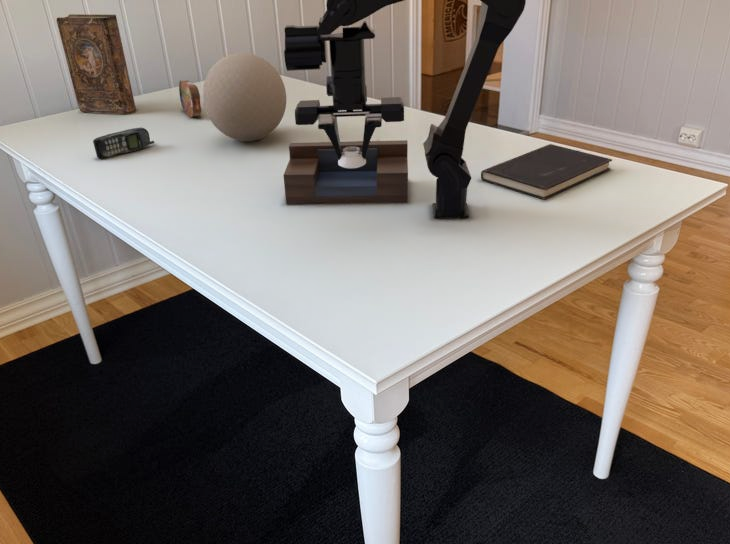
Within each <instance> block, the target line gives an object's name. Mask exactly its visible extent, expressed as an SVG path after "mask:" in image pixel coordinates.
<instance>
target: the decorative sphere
mask: <svg viewBox="0 0 730 544" xmlns="http://www.w3.org/2000/svg"><path fill="white" fill-rule="evenodd" d="M286 90H287V89H286V86H285V83H284V81H283V78H282V76H281V75H280V73H279V72H278V70H277V69H276V67H274V65H272V64H271V63H270V62H269V61H268V60H266V59H265V58H263V57H261V56H259V55H256V54H254V53H249V52H235V53H231V54H228V55H226V56H224V57H222V58H220V59H219V60H218V61H217V62H215V63H214V65H213V66H212V67H211V68H210V69H209V71H208V72H207V74H206V77H205V79H204V83H203V88H202V100H203V101H202V102H203V106H204V109H205V113H206V115H207V117H208V119H209V120H210V122H211V124H212V125H213V126H214V127H215V128H216V129H217V130H218V131H219V132H221V133H222V134H223V135H225V136H226V137H228V138H231V139H233V140H236V141H241V142H253V141H258V140H261V139H263V138H265V137H267V136H269V135H270V134H272V133H273V132H274V131H275V130H276V129H277V128H278V126H279V125H280V123H281V121H282V120H283V118H284V115H285V112H286V108H287V91H286Z"/></svg>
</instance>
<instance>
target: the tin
mask: <svg viewBox="0 0 730 544" xmlns="http://www.w3.org/2000/svg"><path fill="white" fill-rule="evenodd" d="M178 84H179V85H178V91H179V92H178V93H179V99H180V103H181V104H180V105H181V108H182V110H183V112H184V113H185V114H187V116H188V117H190V118H196V117H200V116H201V115H202V107H201V95H200V94H201V93H200V91H199V87H197V85H196V84H194V83H193V82H192V81H191V80H180V81H179V83H178Z"/></svg>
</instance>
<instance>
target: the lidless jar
mask: <svg viewBox="0 0 730 544" xmlns="http://www.w3.org/2000/svg"><path fill="white" fill-rule="evenodd" d="M338 164H339V166H341V167H343V168H350V169H352V168H359V167H361V166H363V165H365V164H366V159H365V160H364V159H363V157H362V152H360V148H358V147H346V148H344V149H343V152H342V154H341V158H340V160H338Z"/></svg>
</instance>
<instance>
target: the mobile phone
mask: <svg viewBox="0 0 730 544" xmlns="http://www.w3.org/2000/svg"><path fill="white" fill-rule="evenodd" d="M92 143H93V148H94V150H95V155H96V157H97V159H99V160H100V159H107V158H112V157H116V156H120V155H123V154H129V153H133V152H137V151H139V150H142V149H144V148H146V147H148V146H150V145H153V144H155V141H154V140H151V137H150V132H149V131H148V130H147V128H145V127H133V128H129V129H124V130H120V131H116V132H112V133H108V134H104V135H102V136H98V137H96V138H94V139H93V141H92Z"/></svg>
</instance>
